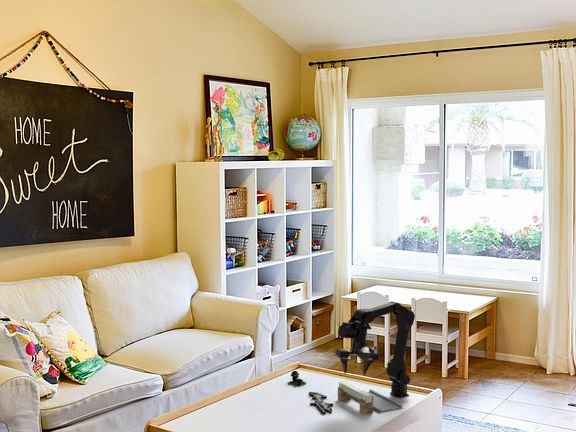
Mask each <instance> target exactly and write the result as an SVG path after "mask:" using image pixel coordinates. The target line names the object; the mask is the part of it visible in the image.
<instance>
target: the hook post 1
mask: <svg viewBox="0 0 576 432" xmlns="http://www.w3.org/2000/svg"><path fill="white" fill-rule="evenodd" d="M351 399H352V398H351V395H350V394H349V393H347V392H345V391H343V390H342V388H340V387H339V386H337V401H339V402H342V403H343V402H348V400H349V401H351Z"/></svg>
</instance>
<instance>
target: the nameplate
mask: <svg viewBox="0 0 576 432" xmlns="http://www.w3.org/2000/svg"><path fill="white" fill-rule="evenodd" d="M308 396H309V397H310V398H311V400H312V401H314V402H310V403H309V407H312V406H313V407H316V408H317V410H318V411H319V413H321V414H322V416H323V415H324V416H325V415H327V414H326V413H328V414H332V412H333V408H332V407H334V403H332V402H325V401H324V400H327V399H328V396H327V395H324V394H323V393H319V392H316V391H308Z"/></svg>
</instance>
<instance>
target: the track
mask: <svg viewBox="0 0 576 432" xmlns="http://www.w3.org/2000/svg"><path fill="white" fill-rule="evenodd" d="M366 392H367V393H369V394H371V395H372V396H373V411H375V412H377V413H379V414H380V413H386V412H390V411H395V410H400V409H403V404H401V403H399V402H397V401H395V400H394V399H391V398H389V397H387V396H385V395H383V394H381V393H380V392H378V391H375V390H374V389H372V388H371V389H369V391H366ZM351 399H354V401H357V402H358V403H360V399H358V398H356V397H354V396H352V395H351Z"/></svg>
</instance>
